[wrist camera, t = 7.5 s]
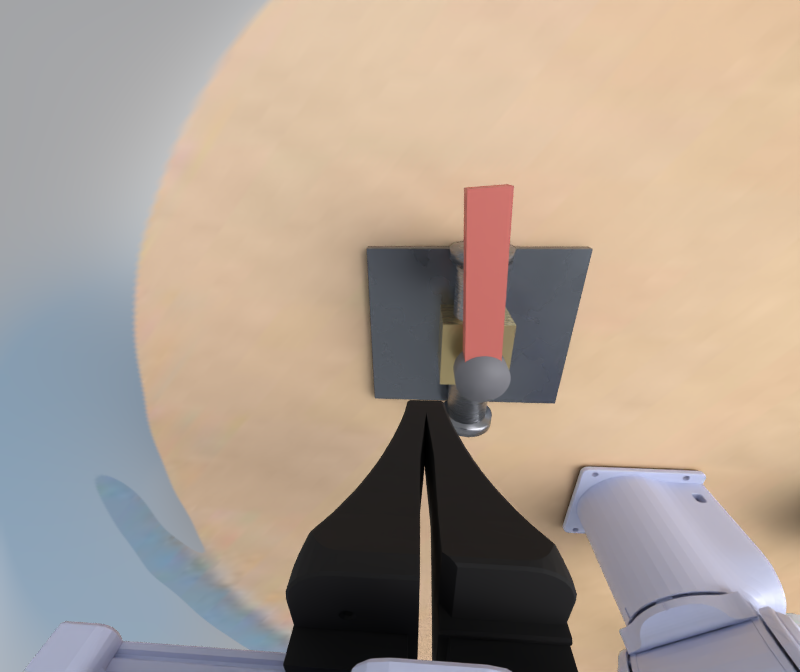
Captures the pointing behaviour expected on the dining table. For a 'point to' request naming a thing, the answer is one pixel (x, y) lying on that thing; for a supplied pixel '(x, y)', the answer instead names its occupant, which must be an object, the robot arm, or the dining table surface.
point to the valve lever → (484, 292)
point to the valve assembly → (443, 324)
